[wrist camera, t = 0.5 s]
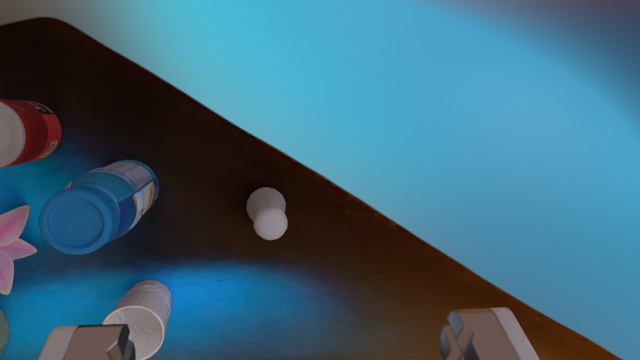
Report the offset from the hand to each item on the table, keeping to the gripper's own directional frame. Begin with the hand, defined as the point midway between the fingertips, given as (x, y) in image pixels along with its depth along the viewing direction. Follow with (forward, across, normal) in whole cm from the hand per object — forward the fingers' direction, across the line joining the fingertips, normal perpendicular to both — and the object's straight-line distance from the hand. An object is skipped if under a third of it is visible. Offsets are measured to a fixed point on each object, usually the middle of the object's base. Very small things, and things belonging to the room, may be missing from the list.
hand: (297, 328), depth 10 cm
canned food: (+47, -31, -22) cm, 61 cm away
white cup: (+36, -17, -45) cm, 60 cm away
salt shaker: (+43, 0, -32) cm, 54 cm away
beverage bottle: (+44, -19, -30) cm, 56 cm away
